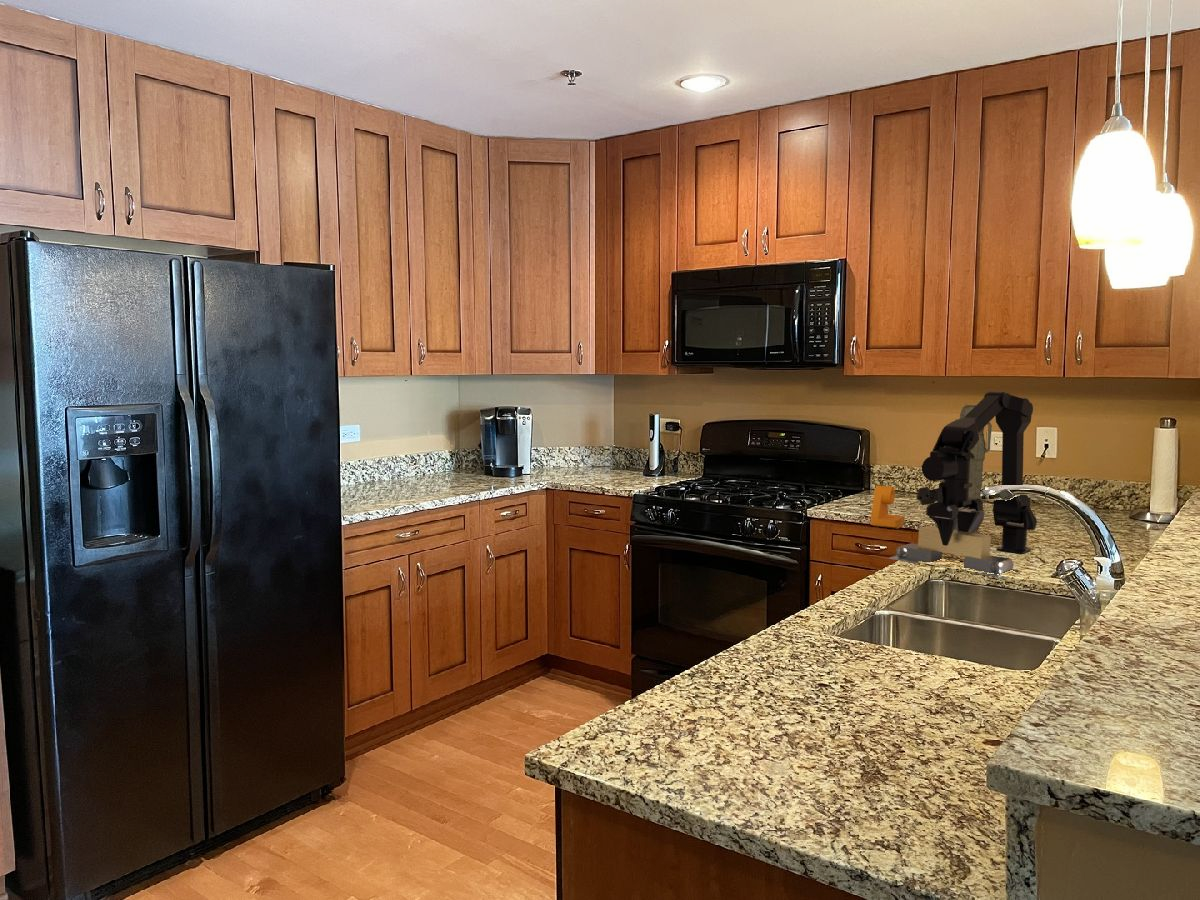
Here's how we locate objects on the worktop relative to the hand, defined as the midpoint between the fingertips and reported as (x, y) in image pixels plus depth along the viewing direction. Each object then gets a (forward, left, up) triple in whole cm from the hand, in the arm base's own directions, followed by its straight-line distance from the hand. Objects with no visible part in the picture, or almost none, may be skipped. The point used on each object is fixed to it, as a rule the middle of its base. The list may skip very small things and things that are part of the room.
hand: (953, 542), depth 212 cm
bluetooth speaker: (-36, -13, -6) cm, 39 cm away
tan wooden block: (0, 0, -2) cm, 2 cm away
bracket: (-38, -36, -6) cm, 53 cm away
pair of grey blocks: (0, 0, -5) cm, 5 cm away
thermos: (-84, -31, -6) cm, 90 cm away
